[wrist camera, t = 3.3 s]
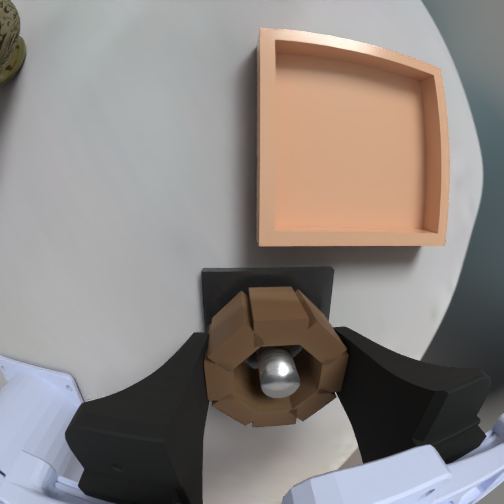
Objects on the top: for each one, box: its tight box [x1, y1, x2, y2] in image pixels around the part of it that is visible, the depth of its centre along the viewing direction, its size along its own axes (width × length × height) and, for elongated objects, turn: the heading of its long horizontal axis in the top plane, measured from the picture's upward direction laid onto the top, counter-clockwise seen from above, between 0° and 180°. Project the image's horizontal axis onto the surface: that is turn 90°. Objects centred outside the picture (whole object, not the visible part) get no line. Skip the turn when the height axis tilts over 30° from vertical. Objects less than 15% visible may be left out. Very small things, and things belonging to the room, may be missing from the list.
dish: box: [256, 28, 450, 246], centre depth 11 cm, size 9×9×2 cm
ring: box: [204, 287, 349, 427], centre depth 11 cm, size 5×5×3 cm
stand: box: [202, 266, 334, 398], centre depth 11 cm, size 6×6×5 cm
